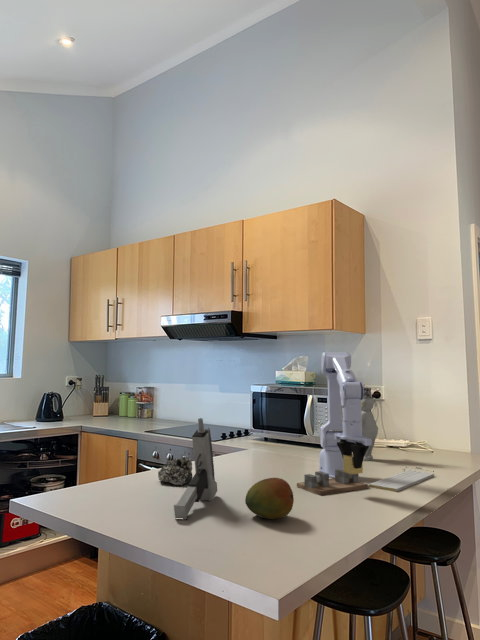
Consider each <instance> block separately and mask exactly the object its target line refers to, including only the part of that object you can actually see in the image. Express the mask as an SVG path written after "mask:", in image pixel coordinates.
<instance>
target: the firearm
mask: <svg viewBox="0 0 480 640" xmlns="http://www.w3.org/2000/svg"><path fill="white" fill-rule="evenodd" d="M197 422H198V424H197V425H198V426H197V427H198V428H197V430H195V431H194V432H193V433H192V435H191V440H192V450H193V459H194V469H195V470H194V471H195V473H194V475H192V476H193V477H192V480H191V481H190V482H189V483H187V487H186V489H185V491H183V494H182V496H181V497H180V499H179V500H178V501H177V503H176V504H174V505H173V511H174V518H183V519H188V517H187V516H188V515H189V512H191V509H192V508H193V506H194V504H195V503H199V502H200V501H204V500H212V501H213V500H214V499H215V496H216V494H217V493H218V482H216V478H215V466H214V465H215V464H214V454H213V446H212V445H213V443H212V442H213V441H212V436H211V435H212V434H211V429H210V427H208V428H205V427H204V418H202V417H199V418H198V419H197Z"/></svg>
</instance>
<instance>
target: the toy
mask: <svg viewBox="0 0 480 640" xmlns="http://www.w3.org/2000/svg"><path fill="white" fill-rule="evenodd" d="M363 389H364V396H363V400H361V412H362V436H364V437H367V438H370V439H372V445H370V446H369V448H368V449H367V451H366V453H365V456H364V459H363V462H366V461H369V460H373V458H374V457H373V455H372V453H373V452H372V451H373V449H374V446H375V443H376V442H375V441H376V438H377V436H378V434H379V433H378V432H379V427H378V425H377V422H376V420H375V416H374V414H373V412H372V411H371V410H372V409H374V405H375V399H374V398H373V396H372V388H371V387H363Z"/></svg>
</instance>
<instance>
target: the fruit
mask: <svg viewBox="0 0 480 640" xmlns="http://www.w3.org/2000/svg"><path fill="white" fill-rule="evenodd" d="M245 505H246V507H247V509H248V510H250V512H251V513H253V514H255V515H256V516H258V517H260V518H263V519H267V520H278V519H283V518H284V517H287V515H289V514H290V512H292V510H293V506H294V492H293V490H292V487H291V485H290V484H289V483H288V482H287V480H285V479H283V478H280V477H269V478H264V479H262V480H261V479H260V480H259V481H257V482H256V483H254V484H253V485H252V486H251V487H250V488H249V489H248V490H247V493H246V496H245Z"/></svg>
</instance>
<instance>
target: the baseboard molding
mask: <svg viewBox="0 0 480 640" xmlns="http://www.w3.org/2000/svg"><path fill="white" fill-rule="evenodd" d="M422 468H423V467H415V468H412V470H411V469H409V470H403V471H402V472H399V473H397V474H393V475H391V476H388V477H387V476H386V477H384V478H382V479H380V480H376V481H374V482H371V483H368V488H372V489H378V490H384V491H389V492H395V493H398V492H400V491H403V490H404V489H407V488H409V487H412V486H414V485H416V484H418V483H421V482H423V481H425V480H428V479H431V478H432V477H435V473H434V472H435V471H434V470H433V471H432V472H433V473H432V472H426V471H429V470H427V469H426V471H422V470H423V469H422ZM405 469H408V467H407V466H405ZM413 469H414V470H413ZM415 469H417V470H420V471H417V470H415Z"/></svg>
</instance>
